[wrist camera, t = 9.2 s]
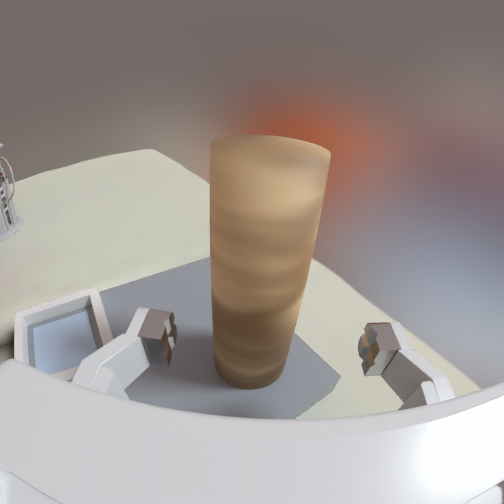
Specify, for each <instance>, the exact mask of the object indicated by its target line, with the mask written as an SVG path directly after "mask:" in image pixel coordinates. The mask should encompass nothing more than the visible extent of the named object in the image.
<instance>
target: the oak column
mask: <svg viewBox="0 0 504 504" xmlns="http://www.w3.org/2000/svg"><path fill="white" fill-rule="evenodd" d="M330 157H331V153H330V152H329V151H328V150H326V149H325V148H323V147H320V146H318V145H315V144H312V143H309V142H305V141H301V140H297V139H291V138H285V137H278V136H267V135H233V136H226V137H220V138H217V139H214V140H213V141H211V150H210V267H211V300H212V324H213V344H214V361H215V367H216V370H217V372H218V373H219V375H220V376H221V377H222V378H223V379H224V380H225V381H226V382H228V383H229V384H231V385H233V386H235V387H238V388H242V389H250V390H253V389H260V388H264V387H267V386H269V385H271V384H272V383H274V382H275V381H276V380H277V379H278V378H279V377H280V376H281V374H282V372H283V370H284V367H285V363H286V359H287V356H288V352H289V349H290V345H291V341H292V337H293V334H294V330H295V326H296V322H297V318H298V314H299V310H300V306H301V302H302V298H303V294H304V290H305V285H306V281H307V277H308V272H309V268H310V263H311V259H312V254H313V249H314V245H315V240H316V235H317V230H318V225H319V220H320V215H321V209H322V204H323V199H324V192H325V187H326V181H327V176H328V169H329V164H330Z"/></svg>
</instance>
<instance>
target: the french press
mask: <svg viewBox="0 0 504 504" xmlns="http://www.w3.org/2000/svg"><path fill="white" fill-rule="evenodd" d="M2 147H3V145H2V144H1V143H0V149H1V148H2ZM0 158H2V159H4V160H5V162H6V163H7V164H8V166H9V168H10V171H11V173H12V179H13V193H12V196H11V192H10V188H9V183H8V178H7V177H5V173H4V171H5V170H4V169H2V167H1V166H0V176H1V175H2V174H3V175H4V177H0V187H1V186H3V190H2V191H1V192H0V242H2V241H4V240H5V239H7V238H9V237H10V236H12V235H13V234H14V233H15V232H17V231H18V230H19V228H20V227H21V226H22V224H23V220H22V218H20V217H18V216H16V212H15V209H14V205H13V201H12V197H13V194H14V177H13V172H12V169H11V167H10V165H9V163H8V162H7V160H6V159H5V158H4V157H2V156H0ZM0 164H1V160H0ZM3 193H4V195H5V196H4V197H3V198H1V195H2V194H3ZM4 200H5V201H4ZM3 202H4V203H3ZM5 202H6V203H5ZM6 207H8V210H7V211H6V212H5V208H6Z"/></svg>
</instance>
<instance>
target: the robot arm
mask: <svg viewBox="0 0 504 504" xmlns="http://www.w3.org/2000/svg"><path fill="white" fill-rule="evenodd" d="M174 319H175V317H174V313H173V312H170V311H163V310H157V309H149V308H143V307H139V308H138V309H137V310H136V312H135V315H134V317H133V319H132V321H131V323H130V325H129V327H128V329H127V331H126V333H125V334H121V335H120V336H118V337H116V338H115V339H113V340H112V341H110V342H109V343H107V344H106V345H104V346H103V347H101V348H100V349H98V350H97V351H95V352H94V353H92V354H91V355H89V356H88V357H86V358H85V359H83V360H82V362H81V364H80V366H79V368H78V370H77V372H76V374H75V376H74V378H73V380H72V382H69V381H66V380H63V379H61V378H58V377H56V376H53V375H50V374H48V373H45V372H43V371H41V370H38V369H36V368H34V367H31V366H29V365H27V364H25V363H23V362H20V361H18V360H16V359H8V360H6V361H4V362H2V363H1V364H0V504H504V382H502V383H499V384H496V385H494V386H491V387H488V388H485V389H482V390H479V391H476V392H473V393H470V394H467V395H463V396H460V397H456V398H455V396H454V393H453V391H452V388H451V385H450V383H449V380H448V378H447V376H445V375H444V374H443V373H442V372H441V371H440V370H438V369H437V368H436V367H435V366H434V365H432V364H431V363H430V362H429V361H428V360H426V359H425V358H424V357H423V356H422V355H420V354H419V353H418V352H417V351H415V350H414V349H411V348H410V346H409V343H408V341H407V339H406V336H405V334H404V332H403V329H402V327H401V325H400V323H399V322H388V323H387V322H383V323H368V324H367V325H366V326H365V328H364V330H365V333H364V334H363V335H362V336H361V337H360V340H359V343H358V352H359V356H360V357H361V358H362V359H363V360H364V361H363V362H362V368H363V372H364V376H380V375H382V376H381V377H382V378H383V379H384V380H385V381H386V382H387V384H388V385H389V386H390V387H391V388H392V389H393V391H394V392H395V393H396V394H397V395H398V396H399V398H400V399H401V400H402V401H403V402H404V404H403V405H402V406H401V407H400V408H399V409H398V410H397V411H392V412H385V413H378V414H370V415H361V416H351V417H339V418H323V419H260V418H243V417H230V416H220V415H211V414H203V413H195V412H189V411H182V410H176V409H170V408H165V407H160V406H155V405H150V404H146V403H141V402H137V401H133V400H130V399H129V398H128V396H127V394H126V393H125V391H124V389H125V388H126V387H127V386H128V385H130V384H131V383H132V382H133V381H134V380H135V379H136V378H137V377H138V376H139V375H140V374H141V373H142V372H144V371H145V370H146V369H147V368H148V367H149V366H150V364H151V365H157V366H164V367H169V365H170V361H171V358H172V351H171V349H172V348H174V347H175V344H176V340H177V327H176V325H175V324H174V323H173V322H174Z"/></svg>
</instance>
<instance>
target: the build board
mask: <svg viewBox="0 0 504 504" xmlns="http://www.w3.org/2000/svg"><path fill="white" fill-rule="evenodd" d="M139 307H143V308H149V309H157V310H163V311H170V312H173V313H174V317H175V319H174V322H173V323H174V324H175V325H176V327H177V340H176V344H175V347H174V348H172V349H171V351H172V358H171V361H170V365H169V367H164V366H157V365H151V364H150V366H149V367H148V368H147V369H146V370H145V371H144V372H142V373H141V374H140V375H139V376H138V377H137V378H136V379H135V380H134V381H133V382H132V383H131V384H130V385H128V386H127V387H126V388H125V389H124V391H125V393H126V394H127V396H128V398H129V399H130V400H133V401H137V402H141V403H146V404H150V405H155V406H160V407H165V408H170V409H176V410H182V411H189V412H195V413H203V414H211V415H220V416H230V417H243V418H260V419H295V418H296V417H297V416H299V415H300V414H302V413H303V412H305V411H306V410H307V409H309V408H310V407H312V406H313V405H314V404H316V403H317V402H318V401H320V400H321V399H322V398H324V397H325V396H326V395H328V394H329V393H330V392H332V391H333V389H334V387H335V386H336V384H337V382H338V381H339V379H340V377H341V376H340V375H339V374H338V373H337V372H336V371H335V370H334V369H333V368H332V367H331V366H329V365H328V364H327V363H326V362H325V361H324V360H323V359H322V358H321V357H320V356H319V355H318V354H317V353H316V352H314V351H313V350H312V349H311V348H310V347H309V346H308V345H307V344H306V343H305V342H304V341H303V340H302V339H301V338H300V337H299V336H297V335H296V334H295V333H294V334H293V337H292V341H291V345H290V349H289V352H288V356H287V359H286V363H285V367H284V370H283V372H282V374H281V376H280V377H279V378H278V379H277V380H276V381H275V382H274V383H272V384H271V385H269V386H267V387H264V388H260V389H253V390H250V389H242V388H238V387H235V386H233V385H231V384H229V383H228V382H226V381H225V380H224V379H223V378H222V377H221V376H220V375H219V373H218V372H217V370H216V367H215V361H214V344H213V324H212V300H211V267H210V257H208V258H205V259H202V260H199V261H195V262H192V263H189V264H186V265H183V266H180V267H176V268H173V269H170V270H167V271H164V272H161V273H158V274H154V275H151V276H148V277H145V278H142V279H139V280H136V281H132V282H129V283H126V284H123V285H120V286H117V287H114V288H111V289H108V290H104V291H101V292H99V291H98V288H97V286H96V287H93V288H90V289H86V290H83V291H80V292H77V293H74V294H71V295H68V296H65V297H62V298H59V299H56V300H53V301H50V302H47V303H44V304H40V305H37V306H34V307H31V308H28V309H25V310H22V311H19V312H17V313H15V330H14V359H16V360H18V361H20V362H23V363H25V364H27V365H29V366H31V367H34V368H36V369H38V370H41V371H43V372H45V373H48V374H50V375H53V376H56V377H58V378H61V379H63V380H66V381H69V382H72V380H73V378H74V376H75V374H76V372H77V370H78V368H79V366H80V364H81V362H82V360H83V359H85V358H86V357H88V356H89V355H91V354H92V353H94V352H95V351H97V350H98V349H100V348H101V347H103V346H104V345H106V344H107V343H109V342H110V341H112V340H113V339H115V338H116V337H118V336H120V335H121V334H125V333H126V331H127V329H128V327H129V325H130V323H131V321H132V319H133V317H134V315H135V312H136V310H137V309H138V308H139Z"/></svg>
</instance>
